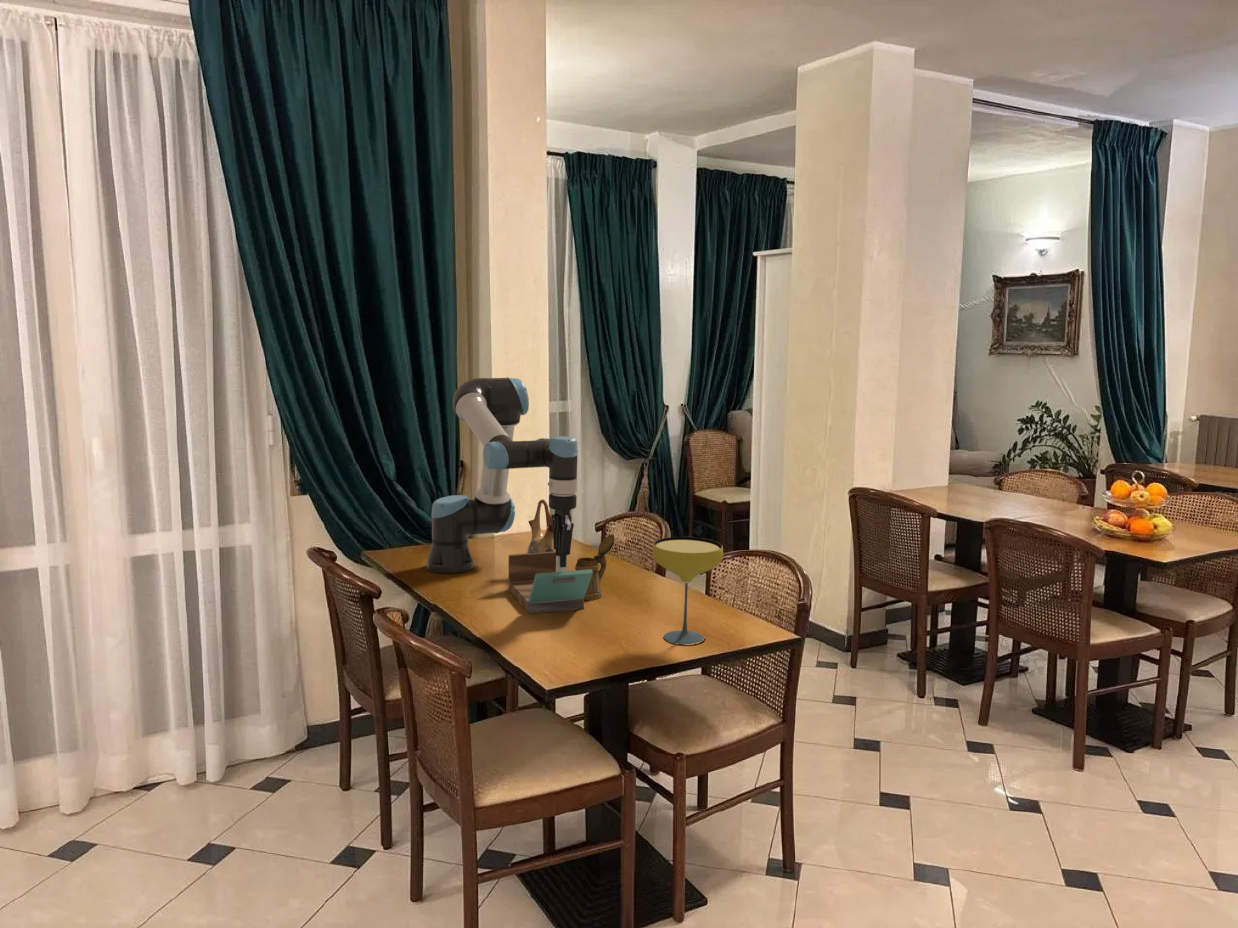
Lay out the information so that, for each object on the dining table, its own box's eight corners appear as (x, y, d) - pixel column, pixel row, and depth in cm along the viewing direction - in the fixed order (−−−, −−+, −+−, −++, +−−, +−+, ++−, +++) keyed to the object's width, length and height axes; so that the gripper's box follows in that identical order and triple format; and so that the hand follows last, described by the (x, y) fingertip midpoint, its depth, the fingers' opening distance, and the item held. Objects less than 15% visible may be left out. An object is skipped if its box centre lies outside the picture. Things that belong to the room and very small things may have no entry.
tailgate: (528, 599, 253) (535, 573, 245) (582, 594, 259) (591, 569, 250) (529, 605, 252) (537, 579, 243) (584, 600, 257) (593, 575, 249)
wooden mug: (620, 595, 271) (621, 537, 268) (580, 601, 264) (581, 541, 262) (605, 588, 279) (606, 531, 276) (566, 593, 272) (567, 535, 269)
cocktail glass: (733, 638, 236) (737, 545, 232) (691, 656, 223) (694, 557, 219) (678, 622, 248) (681, 533, 244) (635, 638, 235) (638, 544, 231)
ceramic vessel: (518, 571, 295) (518, 496, 291) (543, 568, 300) (544, 494, 296) (540, 584, 281) (541, 505, 277) (566, 580, 286) (567, 502, 282)
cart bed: (508, 589, 274) (508, 554, 273) (558, 585, 280) (559, 551, 278) (529, 613, 252) (529, 575, 251) (583, 608, 258) (584, 571, 256)
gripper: (542, 489, 251) (541, 572, 255) (556, 498, 239) (555, 585, 243) (568, 488, 254) (567, 570, 258) (583, 497, 242) (581, 582, 246)
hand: (561, 577), depth 250 cm, fingers closed
